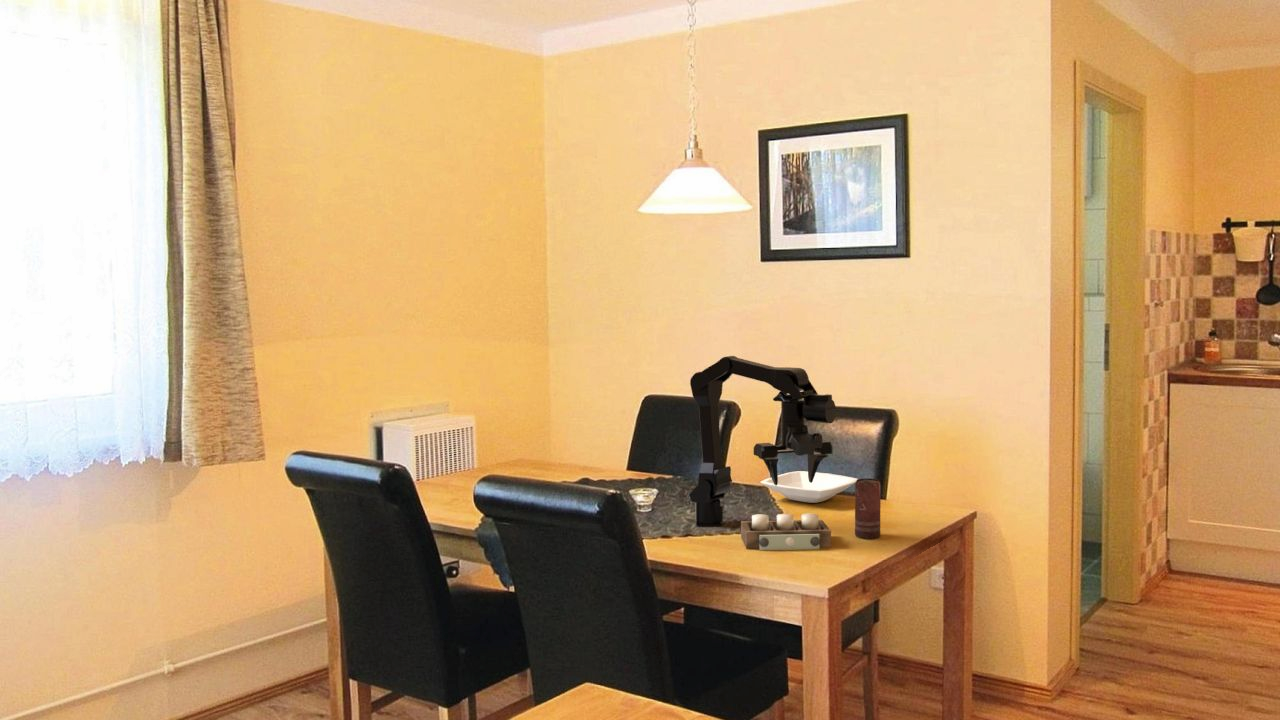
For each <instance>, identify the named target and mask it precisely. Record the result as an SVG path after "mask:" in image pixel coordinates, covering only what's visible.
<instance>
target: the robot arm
mask: <svg viewBox="0 0 1280 720" xmlns="http://www.w3.org/2000/svg"><path fill="white" fill-rule="evenodd" d="M732 375H735V376H740V377H744V378H747V379H752V380H755V381H759V382H763V383H766V384H768V385H770V386H771V387H772V388H774V390H777V391H779V392H778V394H776V395H775V397H773V398H772V400H773V401H774V402H780V404H781V407H780V408H781V413H780V415H781V421H780V422H781V423H780V422H779V428H780V429H781V430H780V432H781V434H780V435H781V439H779V445H775V444H773V443H770V442H762V443H761V442H759V443H758V442H757V443H755V445H754V447H753V455H754V456H756V457H758V459H760V460H763V462H764V464H765V466H766V468H767V470H768V472H769V475H770V478H772V480H773V482H774V485H777V484H778V475H779V474H778V462H779V458H777V455H778V454H789V453H790V454H791V453H794V454H795V455H797V456H801V457H802V456H803V455H804V456H805V455H807V472H808V478H809V482H810V483H812V482H813V479H814V476H815V473H816V472H818V471H817V470H818V467H819V465H820V463H821V462H822V461H823V459H826V458H828V456H829V455H832V454H833V453H834V447H833V444H832V443H831V441H829V440H825V439H823V435H822V433H820V432H817V433H811V434H809V431H808V430H809V428H808V425H807V424H806V421H807V422H809V423H822V424H832V423H834V421H835V419H836V416H837V411H838V410H837V406H836V403H835V401H834V400H833V396H832V394H828V393H827V394H818V391H817V390H816V388H815V387H814V386H813V384H812V383H811V381H810V380H809V375H808V373H807V371H806V370H805V369H804V368H801V367H786V366H785V367H778V366H777V367H776V366H771V365H769V364H763V363H759V362H755V361H752V360H748V359H744V358H740V357H737V356H736V355H728V356H723V357H722V358H720V359H719V360H718V361H716V362H715V363H713V364H712V365H710V366H708V367H706V368H705V369H703V370H702V371H697V372H695V373H694V374H693V375H692V376H691V377H690V380H689V381H690V383H689V384H690V389H691V393H692V394H691V395H692V398H693V399H694V401H695V402H696V404H697V406H698V412H699V416H698V417H699V426H700V441H701V442H700V443H701V453H702V454H701V455H702V463H701V466H700V469H699V472H698V474H697V475H698V479H697V485H696V486H695V488H694V489H692V491H690V493H689V494H688V495H689V499H690V501H691V503H695V505H694V506H695V507H694V511H695V513H694V514H695V518H694V524H695V526H696V527H718V526H719V527H721V526H722V523H723V518H724V517H723V516H724V515H723V512H724V511H723V505H722V504H721V499H724V498H725V495H726V493H727V492H728V490H729V489H730V487H731V482H733V480H732V476H731V474H732V473H731V471H732V469H731V466H726V465H725V463H724V462H723V459H722V447H721V446H722V445H721V433H720V421H719V420H720V419H719V418H720V417H719V402H720V400H721V397H722V394H723V383H725V382H726V381H728V380H729V379H730V378H731V377H732Z"/></svg>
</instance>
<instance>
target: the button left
mask: <svg viewBox="0 0 1280 720" xmlns="http://www.w3.org/2000/svg"><path fill="white" fill-rule="evenodd" d="M751 521H752V529H753V530H768V529H769V521H770V519H769V515H767V514H764V513H763V514H761V513H758V514H757V513H756V514H752V515H751Z"/></svg>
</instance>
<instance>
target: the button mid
mask: <svg viewBox="0 0 1280 720" xmlns="http://www.w3.org/2000/svg"><path fill="white" fill-rule="evenodd" d="M794 517H795V516H794V514H791V513H779V514H776V521H777V529H780V530H791V529H793V528H794Z"/></svg>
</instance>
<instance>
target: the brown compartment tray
mask: <svg viewBox="0 0 1280 720" xmlns="http://www.w3.org/2000/svg"><path fill="white" fill-rule="evenodd" d="M789 534H819V540H820V543H819V549H820V548H823V549H824V548H825V547H826V548H832V530H831V529H830V528H829V526H828V525H827V524H826V522H825V521H824V520H823V519H818V529H813V530H809V529H803V528H802V519H800V520H799V519H795V520H794V528H793V529H791V530H780V529H777V520H769V529H768V530H753V529H752V520H744V521H743V520H742V521H740V535H741V536H740V537H741V540H742V543H743V544H744V547H745V549H746V550H754V549H755V550H758V549H759V550H760V543H759V541H760V535H789Z"/></svg>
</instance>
